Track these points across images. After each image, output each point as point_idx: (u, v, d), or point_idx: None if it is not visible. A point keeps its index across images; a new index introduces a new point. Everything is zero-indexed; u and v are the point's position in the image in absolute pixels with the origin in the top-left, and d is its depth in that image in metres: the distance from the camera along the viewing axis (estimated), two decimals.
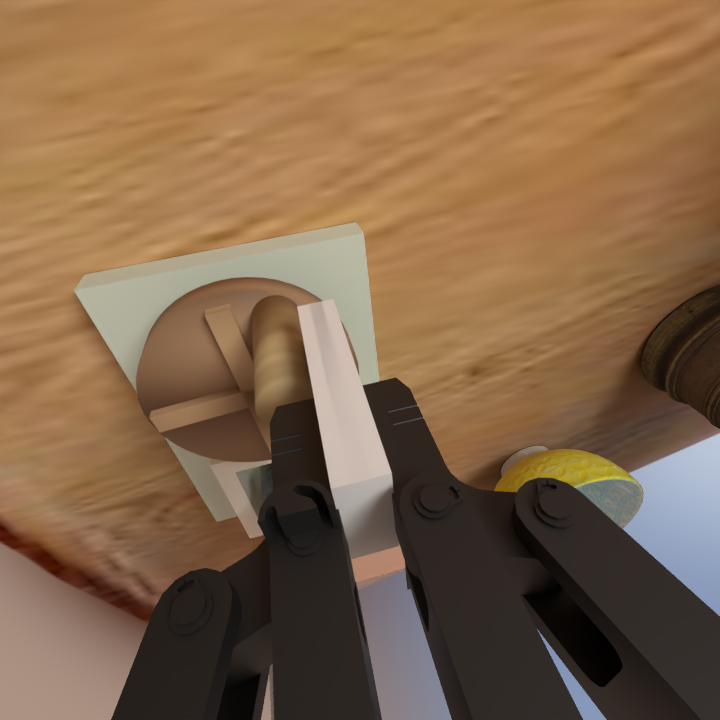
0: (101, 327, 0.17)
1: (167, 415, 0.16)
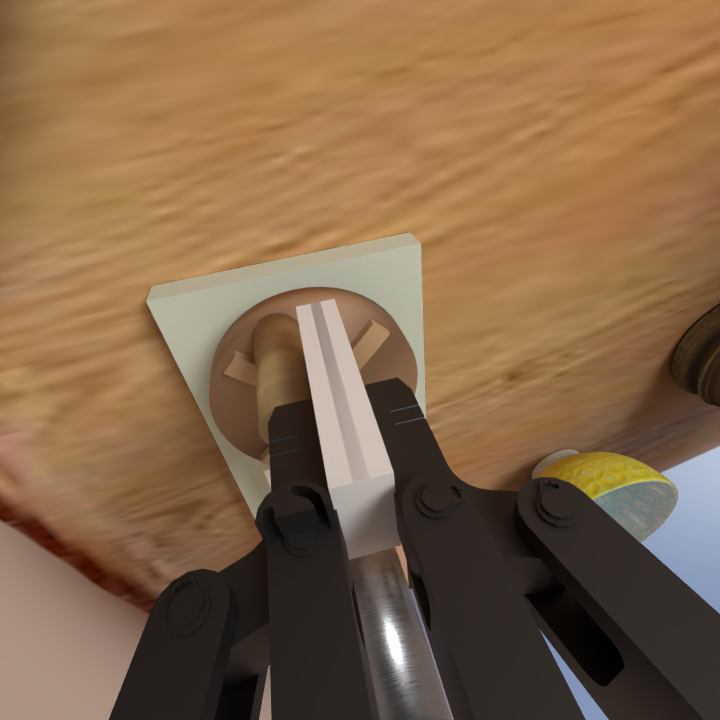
0: (168, 336, 0.18)
1: None
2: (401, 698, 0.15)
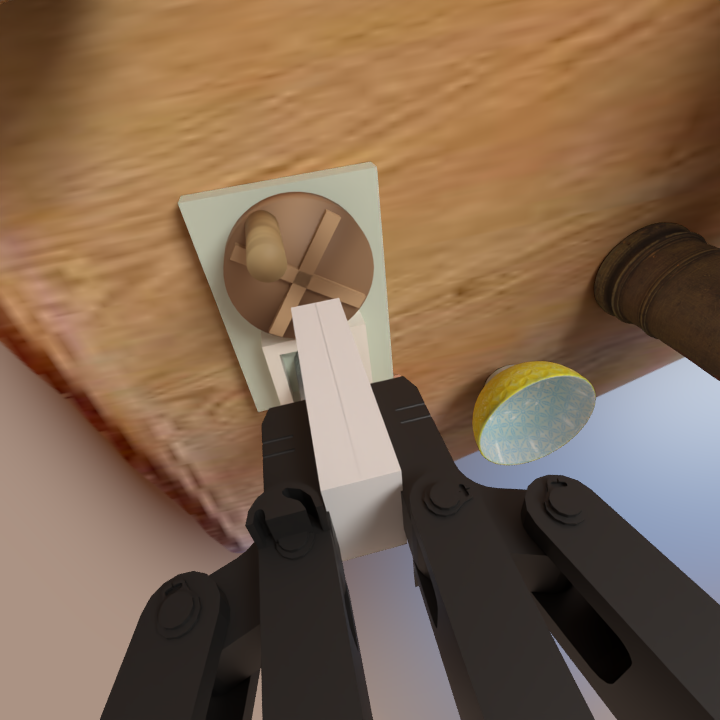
0: (192, 233, 0.25)
1: (274, 325, 0.26)
2: None
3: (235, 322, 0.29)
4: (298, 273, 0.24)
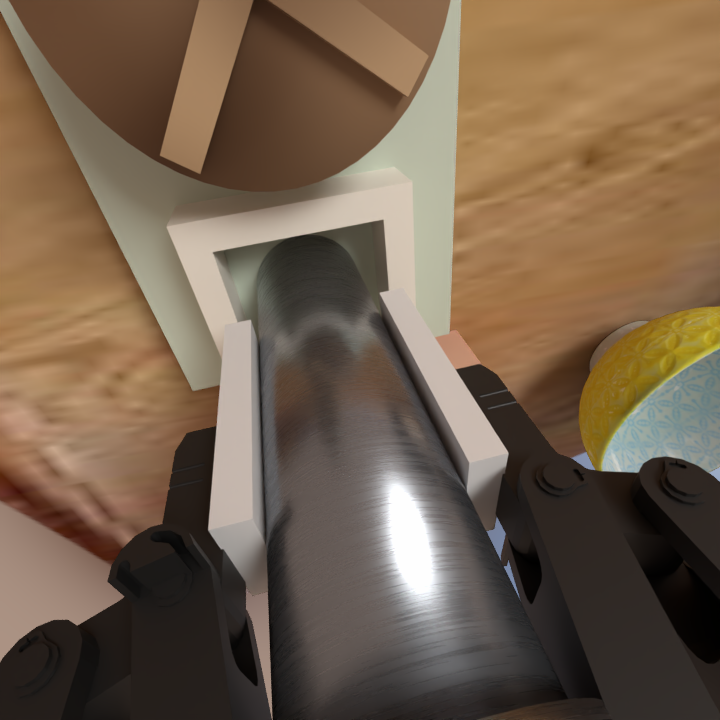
0: None
1: (172, 128, 0.09)
2: (413, 576, 0.05)
3: (111, 174, 0.13)
4: None
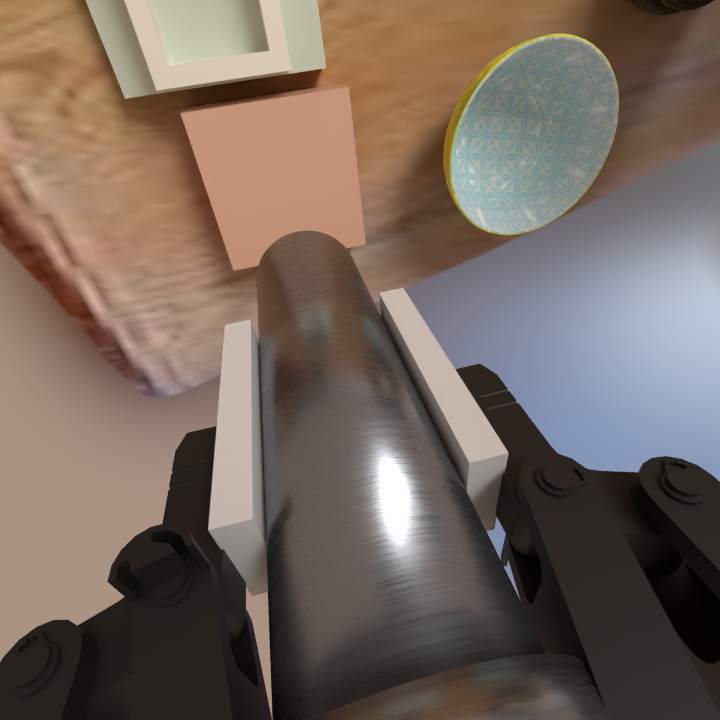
0: None
1: None
2: (404, 545, 0.06)
3: None
4: None
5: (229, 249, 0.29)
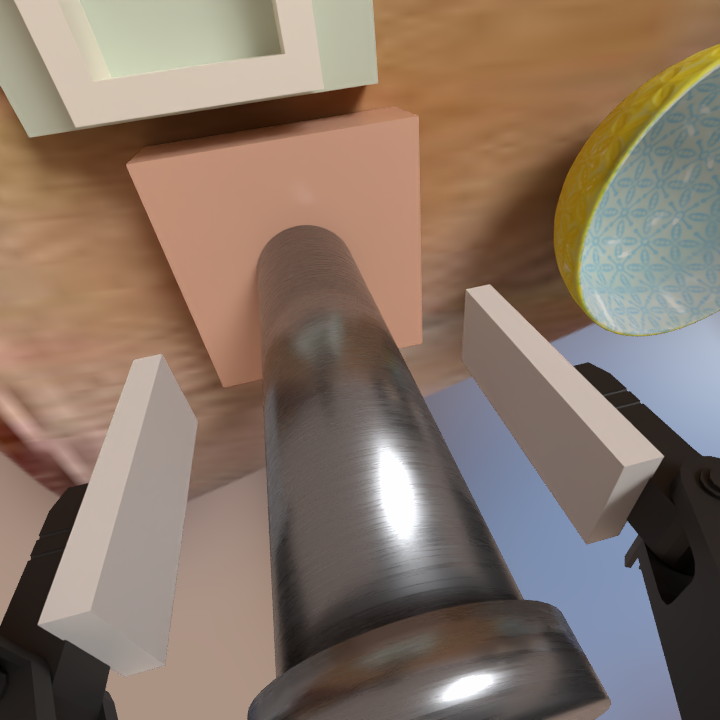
0: None
1: None
2: (397, 509, 0.06)
3: None
4: None
5: (217, 361, 0.19)
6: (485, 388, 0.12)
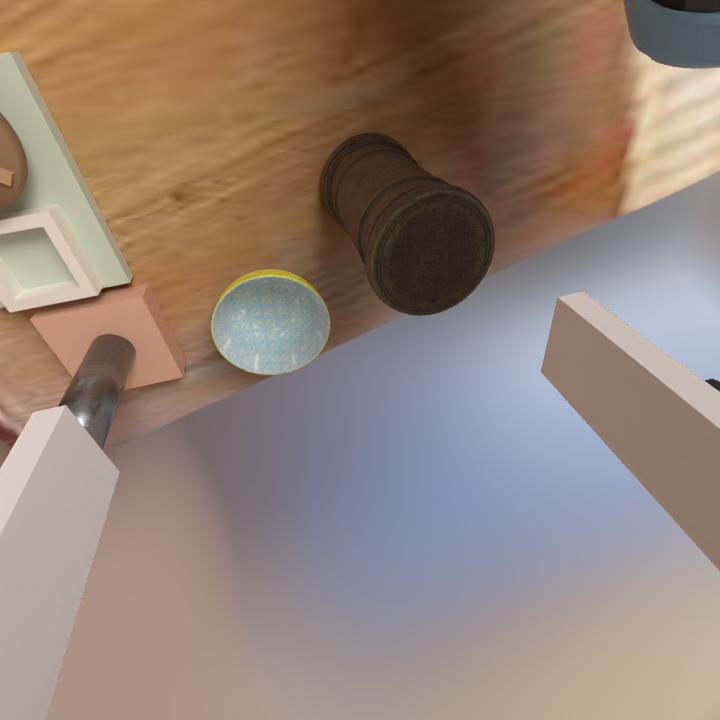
0: None
1: None
2: None
3: None
4: None
5: None
6: (577, 403, 0.11)
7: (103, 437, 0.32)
